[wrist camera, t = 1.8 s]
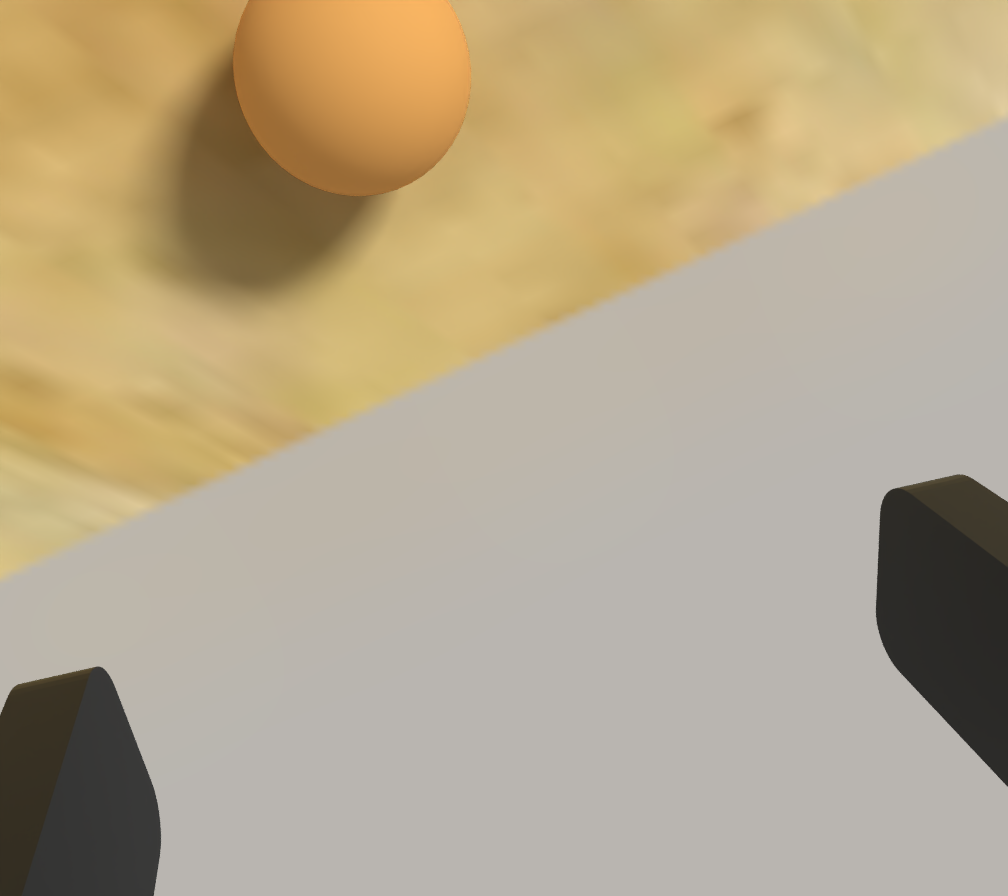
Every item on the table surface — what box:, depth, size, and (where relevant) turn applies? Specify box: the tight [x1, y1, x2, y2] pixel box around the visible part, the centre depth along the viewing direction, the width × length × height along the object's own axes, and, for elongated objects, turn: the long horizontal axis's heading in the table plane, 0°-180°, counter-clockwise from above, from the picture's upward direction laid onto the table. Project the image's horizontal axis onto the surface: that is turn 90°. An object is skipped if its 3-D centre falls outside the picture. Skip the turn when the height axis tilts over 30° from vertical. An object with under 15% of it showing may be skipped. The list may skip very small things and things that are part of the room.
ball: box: [233, 0, 471, 196], centre depth 22 cm, size 6×6×6 cm
